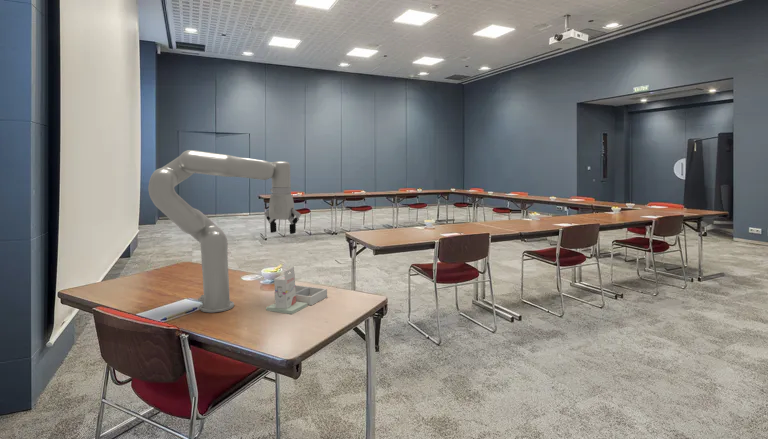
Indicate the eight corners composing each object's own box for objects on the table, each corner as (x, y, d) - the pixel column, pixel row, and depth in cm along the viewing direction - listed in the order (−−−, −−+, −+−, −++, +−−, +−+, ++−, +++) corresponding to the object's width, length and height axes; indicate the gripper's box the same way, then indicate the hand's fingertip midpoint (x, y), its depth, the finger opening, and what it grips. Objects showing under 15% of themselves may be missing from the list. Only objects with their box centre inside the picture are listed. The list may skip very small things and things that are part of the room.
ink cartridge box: (284, 301, 175) (283, 266, 173) (296, 302, 174) (295, 266, 172) (274, 308, 167) (273, 271, 165) (286, 309, 166) (285, 271, 164)
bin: (274, 300, 181) (274, 292, 180) (292, 292, 192) (292, 284, 192) (310, 305, 174) (310, 297, 173) (327, 296, 185) (327, 288, 185)
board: (266, 310, 168) (266, 307, 168) (282, 302, 178) (282, 299, 178) (291, 314, 163) (291, 311, 163) (307, 306, 173) (307, 303, 173)
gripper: (258, 191, 177) (260, 233, 179) (293, 192, 170) (295, 235, 172) (270, 190, 184) (271, 230, 186) (304, 191, 177) (305, 232, 179)
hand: (283, 232), depth 179 cm, fingers open, 9 cm apart
